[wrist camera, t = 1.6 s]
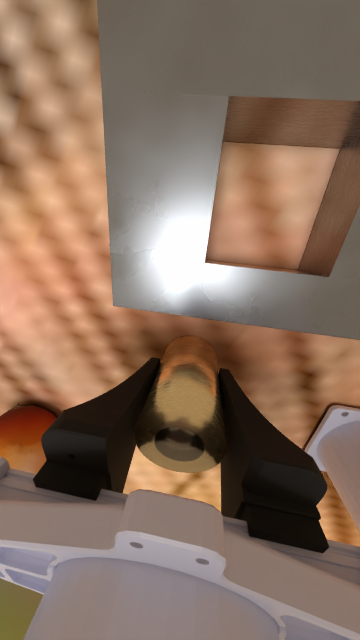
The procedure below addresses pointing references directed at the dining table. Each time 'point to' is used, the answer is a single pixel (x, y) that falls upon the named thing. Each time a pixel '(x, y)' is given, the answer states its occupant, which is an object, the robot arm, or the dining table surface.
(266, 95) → the jig
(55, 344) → the dining table surface
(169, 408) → the bushing
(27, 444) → the fruit
